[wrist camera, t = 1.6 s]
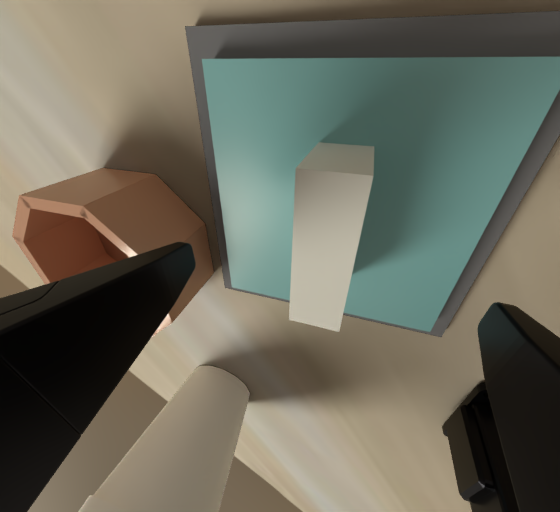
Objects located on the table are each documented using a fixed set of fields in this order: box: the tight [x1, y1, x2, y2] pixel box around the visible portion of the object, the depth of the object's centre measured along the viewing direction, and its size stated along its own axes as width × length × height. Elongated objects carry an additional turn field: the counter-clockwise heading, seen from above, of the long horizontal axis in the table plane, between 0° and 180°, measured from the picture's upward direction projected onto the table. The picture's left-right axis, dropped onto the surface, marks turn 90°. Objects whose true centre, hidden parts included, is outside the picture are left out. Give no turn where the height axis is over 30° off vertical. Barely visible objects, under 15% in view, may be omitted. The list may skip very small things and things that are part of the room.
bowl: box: [13, 168, 214, 336], centre depth 15 cm, size 9×9×4 cm
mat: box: [185, 11, 560, 337], centre depth 12 cm, size 13×13×1 cm
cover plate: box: [202, 57, 560, 332], centre depth 10 cm, size 11×11×4 cm
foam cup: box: [78, 366, 250, 512], centre depth 21 cm, size 10×9×13 cm
